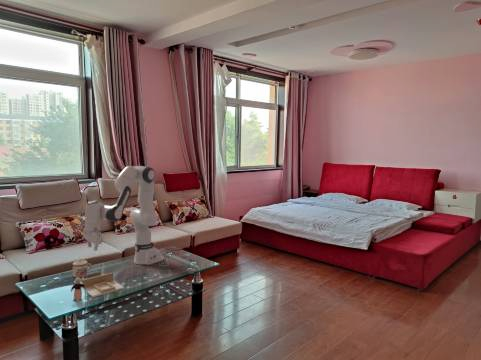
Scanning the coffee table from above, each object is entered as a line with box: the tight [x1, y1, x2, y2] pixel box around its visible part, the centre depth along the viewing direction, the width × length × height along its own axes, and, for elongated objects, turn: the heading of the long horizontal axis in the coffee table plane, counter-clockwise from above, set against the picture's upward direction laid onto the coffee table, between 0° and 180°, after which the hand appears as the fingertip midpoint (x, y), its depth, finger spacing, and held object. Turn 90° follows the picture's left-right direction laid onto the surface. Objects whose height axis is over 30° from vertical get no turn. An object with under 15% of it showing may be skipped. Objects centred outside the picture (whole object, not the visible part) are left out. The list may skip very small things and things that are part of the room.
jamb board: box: [73, 272, 125, 298], centre depth 211 cm, size 19×29×6 cm, turn 45°
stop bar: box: [84, 270, 102, 279], centre depth 217 cm, size 8×4×5 cm, turn 135°
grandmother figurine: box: [70, 277, 86, 302], centre depth 191 cm, size 8×4×13 cm, turn 126°
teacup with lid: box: [72, 258, 93, 278], centre depth 227 cm, size 12×9×12 cm
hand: (92, 248), depth 216 cm, fingers open, 8 cm apart
